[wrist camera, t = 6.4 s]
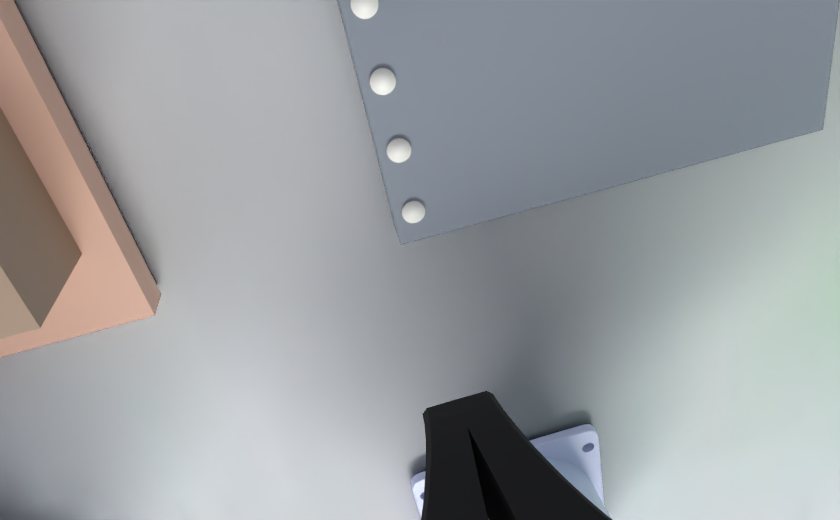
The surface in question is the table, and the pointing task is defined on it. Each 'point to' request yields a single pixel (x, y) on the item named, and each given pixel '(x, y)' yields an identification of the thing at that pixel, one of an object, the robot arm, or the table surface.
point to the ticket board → (574, 94)
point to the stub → (56, 214)
